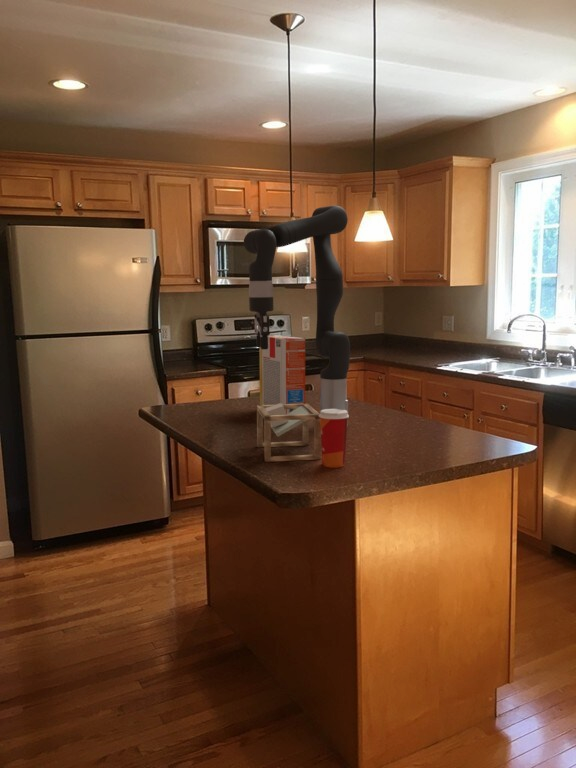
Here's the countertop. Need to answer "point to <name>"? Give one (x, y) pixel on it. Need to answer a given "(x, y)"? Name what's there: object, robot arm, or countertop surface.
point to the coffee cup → (333, 437)
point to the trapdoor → (290, 422)
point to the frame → (268, 444)
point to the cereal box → (282, 371)
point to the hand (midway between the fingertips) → (262, 348)
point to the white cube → (277, 410)
